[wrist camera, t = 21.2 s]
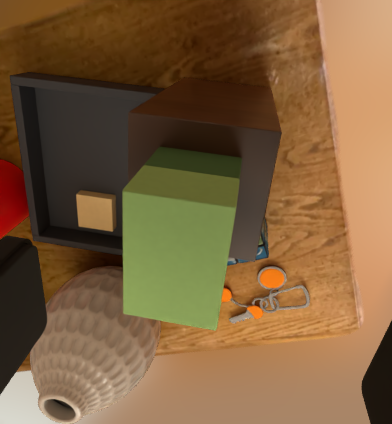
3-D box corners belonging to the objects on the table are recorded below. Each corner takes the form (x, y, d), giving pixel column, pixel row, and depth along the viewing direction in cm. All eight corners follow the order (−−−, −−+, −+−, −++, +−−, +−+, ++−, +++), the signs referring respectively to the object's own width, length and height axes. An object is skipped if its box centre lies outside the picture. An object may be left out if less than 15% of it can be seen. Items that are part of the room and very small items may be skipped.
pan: (28, 71, 35) (9, 75, 32) (164, 88, 33) (156, 93, 31) (47, 227, 43) (32, 240, 40) (157, 245, 42) (150, 260, 39)
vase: (188, 315, 46) (156, 450, 31) (105, 333, 49) (40, 460, 35) (145, 232, 41) (82, 345, 26) (57, 259, 45) (-42, 370, 30)
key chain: (299, 259, 39) (300, 264, 38) (313, 310, 42) (314, 315, 41) (192, 280, 43) (191, 284, 42) (211, 325, 46) (210, 330, 45)
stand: (183, 77, 33) (127, 111, 19) (271, 87, 32) (282, 132, 18) (177, 159, 36) (127, 241, 22) (256, 170, 36) (255, 262, 22)
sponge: (159, 145, 19) (121, 189, 14) (242, 157, 19) (236, 206, 13) (154, 246, 22) (122, 314, 17) (226, 258, 22) (216, 331, 16)
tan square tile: (80, 189, 39) (75, 194, 38) (115, 194, 39) (111, 199, 38) (83, 221, 41) (78, 226, 40) (116, 226, 40) (112, 231, 39)
